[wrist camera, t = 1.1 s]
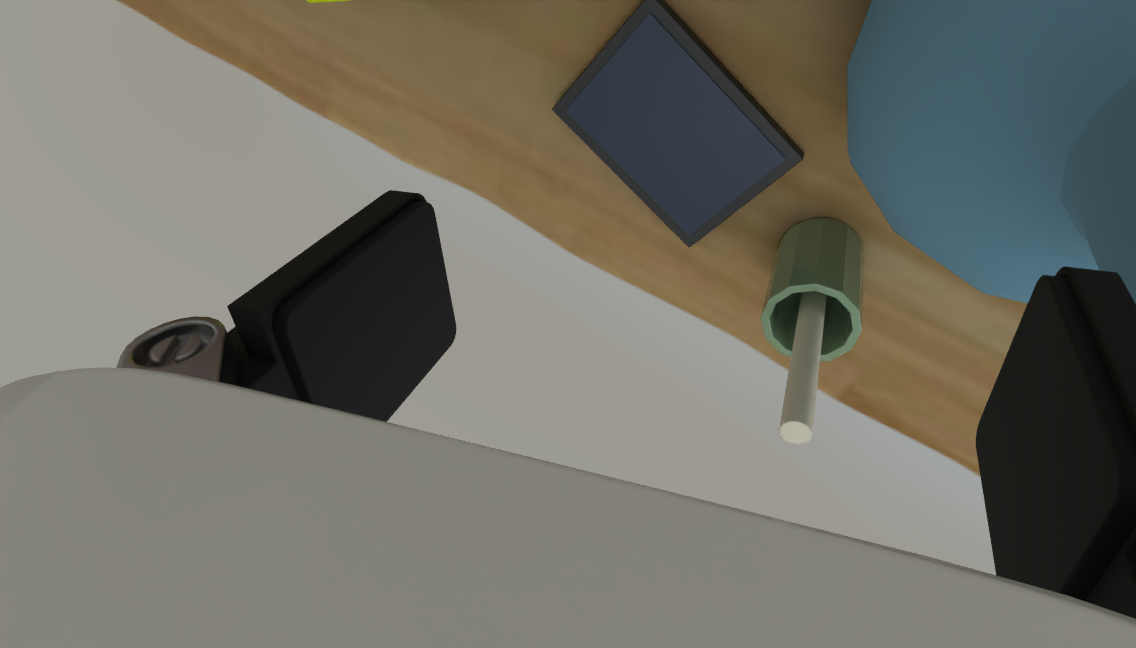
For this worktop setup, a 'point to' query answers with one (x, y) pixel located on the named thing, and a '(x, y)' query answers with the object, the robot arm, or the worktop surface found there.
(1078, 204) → the vase
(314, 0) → the plumb bob
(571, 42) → the worktop surface
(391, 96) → the worktop surface
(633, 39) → the tablet
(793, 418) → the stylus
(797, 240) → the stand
